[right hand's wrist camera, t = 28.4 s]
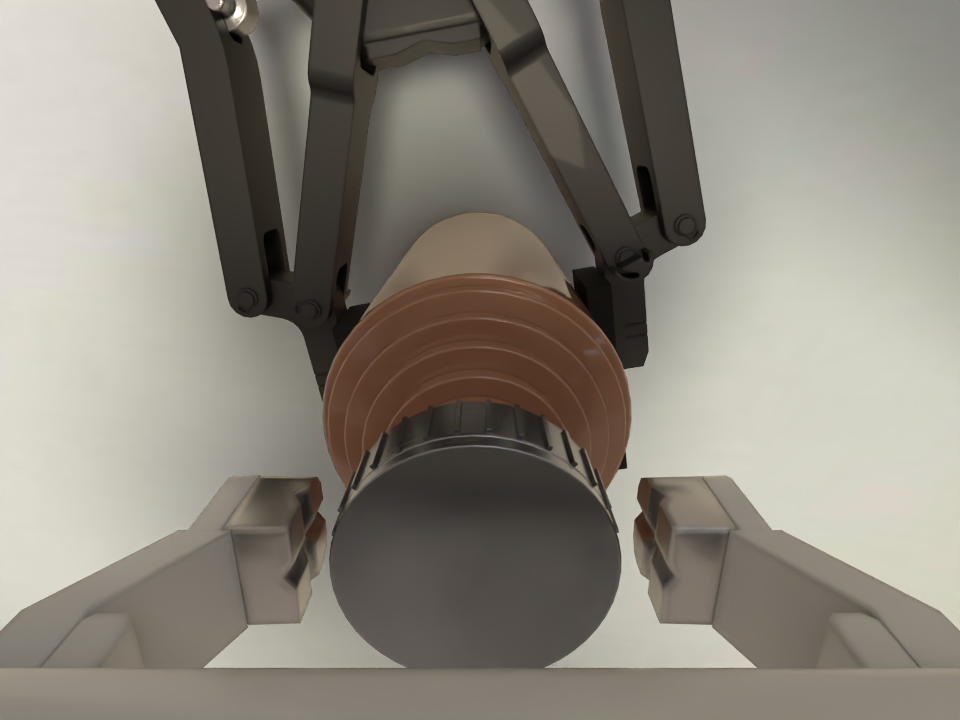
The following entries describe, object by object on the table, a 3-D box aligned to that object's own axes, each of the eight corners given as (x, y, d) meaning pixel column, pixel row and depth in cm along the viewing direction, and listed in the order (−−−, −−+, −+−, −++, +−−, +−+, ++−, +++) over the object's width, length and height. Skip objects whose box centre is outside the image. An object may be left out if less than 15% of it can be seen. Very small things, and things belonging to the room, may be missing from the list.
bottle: (442, 394, 27) (388, 747, 11) (367, 257, 24) (162, 451, 9) (584, 332, 26) (751, 622, 10) (519, 182, 23) (601, 248, 8)
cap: (436, 648, 11) (429, 721, 10) (295, 475, 10) (263, 531, 8) (647, 550, 10) (674, 615, 9) (525, 347, 9) (534, 384, 7)
